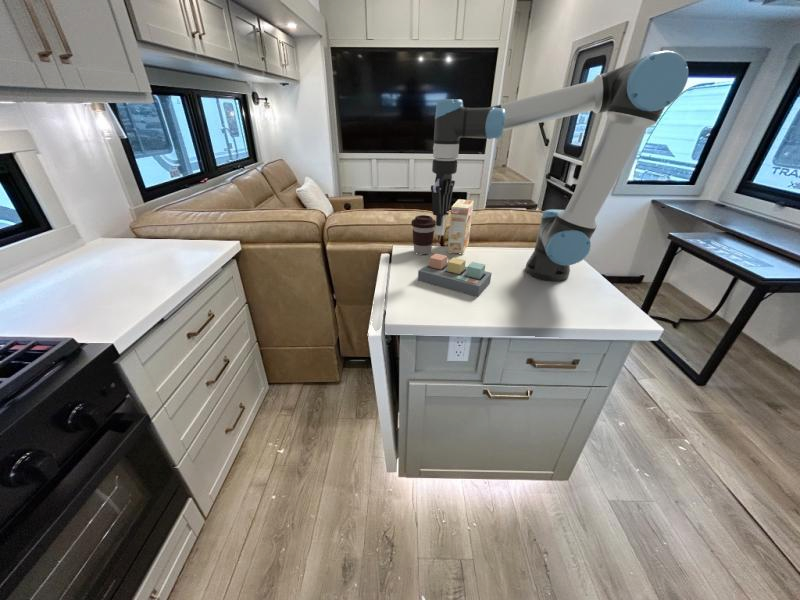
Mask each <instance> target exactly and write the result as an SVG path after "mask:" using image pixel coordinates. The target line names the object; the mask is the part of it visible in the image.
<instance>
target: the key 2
mask: <svg viewBox="0 0 800 600" xmlns="http://www.w3.org/2000/svg"><path fill="white" fill-rule="evenodd" d="M466 267H467V273H466V276H469V277H473V278H477V279H480V278H481V277H482V276H483V275H484V271H486V264H484V263H479V262H476V261H472V262H470V264H468V265H467V266H466Z"/></svg>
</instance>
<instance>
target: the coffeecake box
mask: <svg viewBox="0 0 800 600" xmlns="http://www.w3.org/2000/svg"><path fill="white" fill-rule="evenodd" d="M474 203H475V201H474V200H471V199H461V198H459V199H457V200H456V201H455V203H453V205H452V206H450V209H451V210H450V218H449V219H450V220H449V228H448V229H449V232H448V242H447V243H448V244H447V252H451V253H450V254H454V253H461V254H463V253H464V254H465V252H464V251H466V250H465V249H467V248H468V245H469V242H470V235H471V225H472V219H473V218H472V217H473V209H474ZM461 254H460V255H461ZM464 254H463V255H464Z"/></svg>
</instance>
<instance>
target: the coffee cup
mask: <svg viewBox="0 0 800 600" xmlns="http://www.w3.org/2000/svg"><path fill="white" fill-rule="evenodd" d="M410 223H411V226H412V243H413V252H414V253H415V254H416V253H417V254H416V255H419V254H427V255H429V254H430V253H432V247H433V242H434V235H435V227H436V219H434V218H433V217H432V216H431V215H426V214H423V215H417V216H415V218H414V219H412V220H411V222H410Z"/></svg>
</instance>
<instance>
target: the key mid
mask: <svg viewBox="0 0 800 600" xmlns="http://www.w3.org/2000/svg"><path fill="white" fill-rule="evenodd" d="M447 262H448V268H447V271H448V272H453V273H457V274H460V273H461V272H463V271H464V270H465V267H466V262H467V261H466V260H465V259H461V258H458V257H452V258H451V259H449V261H448V260H447Z"/></svg>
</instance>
